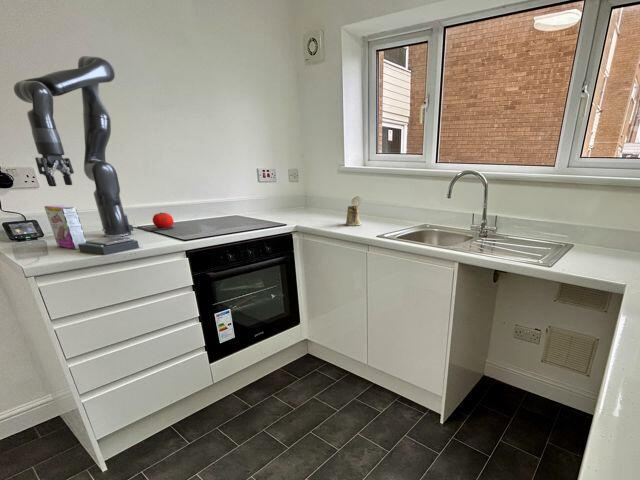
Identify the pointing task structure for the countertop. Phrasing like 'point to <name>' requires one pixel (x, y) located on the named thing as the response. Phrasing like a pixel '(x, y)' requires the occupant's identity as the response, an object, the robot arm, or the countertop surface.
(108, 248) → the scale
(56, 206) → the candy bar box
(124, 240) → the gray square plate
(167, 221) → the tomato
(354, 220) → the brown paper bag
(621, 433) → the countertop surface
